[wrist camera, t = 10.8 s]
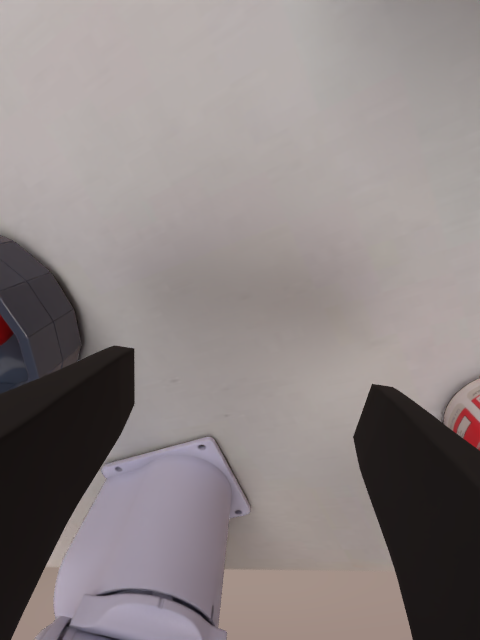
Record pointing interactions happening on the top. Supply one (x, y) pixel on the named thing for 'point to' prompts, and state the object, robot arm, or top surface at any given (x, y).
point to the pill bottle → (465, 413)
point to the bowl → (33, 319)
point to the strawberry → (4, 331)
